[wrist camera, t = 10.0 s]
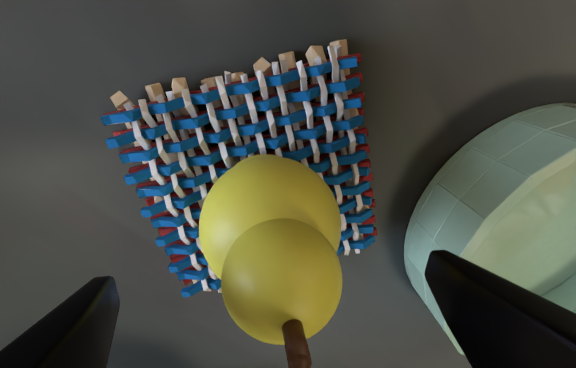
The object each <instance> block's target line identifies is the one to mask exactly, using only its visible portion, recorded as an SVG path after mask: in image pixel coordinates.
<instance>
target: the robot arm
mask: <svg viewBox="0 0 576 368" xmlns="http://www.w3.org/2000/svg"><path fill="white" fill-rule="evenodd" d="M425 279H426V281H427V283H428V286H429V288H430V290H431V292H432V294H433V296H434V298H435V300H436V302H437V305H438V307H439V309H440V311H441V313H442V315H443V317H444V319H445V321H446V323H447V325H448V327H449V329H450V331H451V332H452V334H453V336H454V338H455V339H456V341H457V343H458V344H459V346H460V348H461V349H462V351H463V353H464V354H465V356H466V358H467V359H468V361H469V363H470V364H471V366H472V368H576V313H574V312H572V311H570V310H568V309H566V308H564V307H562V306H560V305H558V304H556V303H554V302H552V301H550V300H547V299H545V298H543V297H541V296H539V295H537V294H535V293H533V292H531V291H529V290H527V289H525V288H523V287H521V286H519V285H517V284H515V283H513V282H511V281H509V280H507V279H504V278H502V277H500V276H498V275H496V274H494V273H492V272H490V271H488V270H486V269H484V268H482V267H480V266H478V265H476V264H474V263H472V262H470V261H468V260H466V259H464V258H462V257H459V256H457V255H455V254H453V253H451V252H449V251H447V250H433V251H431V253H430V254H429V258H428V261H427V265H426V268H425ZM119 306H120V300H119V296H118V292H117V288H116V284H115V281H114V278H113V277H111V276H103V277H95V278H93V279H92V280H91V281H89V282H88V283H87V284H85V285H84V286H83V287H82V288H80V289H79V290H78V291H76V292H75V293H74V294H73V295H71V296H70V297H69V298H68V299H66V300H65V301H64V302H62V303H61V304H60V305H59V306H57V307H56V308H55V309H53V310H52V311H51V312H50V313H48V314H47V315H46V316H45V317H43V318H42V319H41V320H39V321H38V322H37V323H36V324H34V325H33V326H32V327H30V328H29V329H28V330H27V331H25V332H24V333H23V334H22V335H20V336H19V337H18V338H16V339H15V340H14V341H13V342H11V343H10V344H9V345H7V346H6V347H5V348H4V349H2V350H1V351H0V368H106V364H107V360H108V356H109V352H110V347H111V343H112V339H113V334H114V330H115V325H116V321H117V316H118V312H119Z"/></svg>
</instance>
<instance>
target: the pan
mask: <svg viewBox="0 0 576 368" xmlns="http://www.w3.org/2000/svg"><path fill="white" fill-rule="evenodd" d="M433 250H447V251H449V252H451V253H453V254H455V255H457V256H459V257H462V258H464V259H466V260H468V261H470V262H472V263H474V264H476V265H478V266H480V267H482V268H484V269H486V270H488V271H490V272H492V273H494V274H496V275H498V276H500V277H502V278H504V279H507V280H509V281H511V282H513V283H515V284H517V285H519V286H521V287H523V288H525V289H527V290H529V291H531V292H533V293H535V294H537V295H539V296H541V297H543V298H545V299H547V300H550V301H552V302H554V303H556V304H558V305H560V306H562V307H564V308H566V309H568V310H570V311H572V312H574V313H576V103H569V102H568V103H555V104H548V105H543V106H539V107H534V108H531V109H528V110H525V111H522V112H519V113H517V114H514V115H512V116H510V117H508V118H506V119H504V120H502V121H499V122H498V123H496V124H494V125H493V126H491V127H489V128H488V129H486V130H484V131H483V132H481V133H480V134H478V135H477V136H476V137H474V138H473V139H472V140H470V141H469V142H468V143H466V144H465V145H464V146H463V147H462V148H461V149H460V150H458V151H457V152H456V153H455V154H454V155H453V156H452V157H451V158H450V159H449V160H448V161H447V162H446V163H445V164H444V165H443V167H442V168H441V169H440V170H439V171H438V172H437V173H436V175H435V176H434V177H433V179H432V180H431V181H430V183H429V184H428V186H427V187H426V188H425V190H424V192H423V194H422V195H421V197H420V199H419V200H418V202H417V204H416V206H415V209H414V211H413V213H412V215H411V218H410V221H409V224H408V228H407V231H406V236H405V242H404V262H405V268H406V272H407V275H408V278H409V281H410V282H411V284H412V286H413V287H414V289H415V290H416V292H417V293H418V295H419V296H420V298H421V299H422V301H423V302H424V304H425V305H426V307H427V308H428V309H429V311H430V312H431V314H432V315H433V316H434V318H435V319H436V321H437V322H438V324H439V325H440V326H441V328H442V329H443V331H444V332H445V333H446V335H447V336H448V338H449V339H450V341H451V342H452V343H453V345H454V346H455V348H456V349H457V350H458V352H459V353H461V354H463V355H465V354H464V353H463V351H462V349H461V348H460V346H459V344H458V343H457V341H456V339H455V338H454V336H453V334H452V332H451V331H450V329H449V327H448V325H447V323H446V321H445V319H444V317H443V315H442V313H441V311H440V309H439V307H438V305H437V302H436V300H435V298H434V296H433V294H432V292H431V290H430V288H429V286H428V283H427V281H426V279H425V268H426V265H427V261H428V258H429V254H430V253H431V251H433Z"/></svg>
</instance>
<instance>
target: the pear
mask: <svg viewBox="0 0 576 368" xmlns="http://www.w3.org/2000/svg"><path fill="white" fill-rule="evenodd" d="M199 238H200V243H201V248H202V251H203V254H204V257H205V259H206V261H207V263H208V264H209V266H210V268H211V269H212V271H213V272H214V273H215V274H216V276H217V277H218V278H219V279H220V280H221V290H222V295H223V299H224V303H225V305H226V308H227V310H228V312H229V314H230V316H231V317H232V319H233V320H234V321H235V323H236V324H237V325H238V326H239V327H240V328H241V329H242V330H243V331H245V332H246V333H247V334H248V335H250V336H252V337H254V338H255V339H258V340H260V341H262V342H266V343H270V344H277V345H285V349H286V355H287V361H288V366H289V368H311V364H312V362H311V357H310V353H309V349H308V345H307V341H306V339H308V338H310V337H311V336H313V335H314V334H316V333H317V332H318V331H320V330H321V329H322V328H323V327H324V326H325V325H326V324H327V323H328V321H329V320H330V319H331V317H332V316H333V314H334V312H335V311H336V308H337V306H338V303H339V301H340V296H341V292H342V270H341V265H340V262H339V259H338V256H337V251H338V248H339V244H340V239H341V216H340V211H339V207H338V204H337V202H336V199H335V197H334V195H333V193H332V191H331V189H330V188H329V186H328V185H327V184H326V183H325V181H324V180H323V179H322V178H321V177H320V176H319V175H318V174H317V173H316V172H314V171H313V170H312V169H310V168H309V167H307V166H306V165H304V164H302V163H300V162H297V161H295V160H292V159H288V158H283V157H280V156H276V155H270V154H261V155H255V156H251V157H248V158H246V159H244V160H242V161H240V162H239V163H237V164H236V165H235V166H234V167H232V168H231V169H229V170H228V171H227V172H225V173H224V174H223V175H222V176H221V177H220V178H219V179H218V180H217V181H216V182H215V183H214V185H213V186H212V188H211V189H210V191H209V192H208V194H207V196H206V198H205V200H204V203H203V206H202V210H201V213H200V219H199Z"/></svg>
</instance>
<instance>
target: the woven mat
mask: <svg viewBox="0 0 576 368" xmlns="http://www.w3.org/2000/svg"><path fill="white" fill-rule="evenodd" d="M327 48H328V52H329V57H330V59H326V57H325V54H324V51H323V47H322V46H310V47H309V49H308V51H307V52H306V57H307V60H308V62H307V63H305V64H303V63H302V60H301V61H299V62H297V63H296V61H295V55H294V51H291V52H286V53H282V54H279V55H278V56H279V61H280V65H281V71H280V70H279V65H278V62H272V69H273V73H271V64H270V63H269V62H268V61H266V60H265V59H264V58H263V57H261V58H260V59H259V60H258V61H257V62H256V63H255V64H254V65H253V67H254V71H255V75H256V77H252V78H248V77H247V73H246V74H244V72H237V73H233V74H231V73H230V72H227V71H224V72H225V84H224V82H223V78H222V76H216V77H210V78H205V79H203V80H201V84H202V86H200V88H201V89H200V90H195V91H189V89H188V86H187V82H186V79H185V77H183V78H173V80H172V85H171V86H172V91H173V92H172V91H169V92H166V95H167V98H166V97H165V95H164V92H163V89H162V87H161V84H160V83H155V84H151V85H147V86H145V88H146V91H147V93H148V96H149V99H150V101H151V102H149V103H146V99H140V100H138V102H139V105H137V106H135V105H134V104H133V103H132V102H131V101H130V100H129V99H128V98H127V97H126V96H125V95H124V94H123V93H122V92H121V91H118V92H117V93H115V94H114V95H113V96H112V97H110V98H111V100H112V102H113V103H114V105H115V107H116V108H117V109H118V110H117V111H113V112H109V113H105V114H103V115H102V116H100V118H101V120H102V122H103V124H104V126H105V125H112V124H120V123H125V124H126V126H127V129H126V130H120V131H115V132H113V134H114V137H110V138H108V139H106V140H105V141H106V143H107V145H108V147H109V149H111V148H115V147H119V146H122V145H126V144H129V143H132V142H134V144H135V146H136V147H133V148H129V149H124V150H123V151H122V152H121V154H119V157H120V159H121V161H122V163H123V164H124V163H127V162H141V161H142V162H143V164H142V165H139V166H135V167H132V168H130V169H129V173H130V174H127V175H125V176H124V177H123V178H124V180H125V181H126V183H127V185H130V184H134V183H138V182H141V181H143V180H146V179H149V178H150V179H151V181H150V182H146V183H142V184H138V186H137V189H136V192H137V194H138V196H139V198H141V197H145V196H150V197H148V198H146V199H145V201H146V203H147V205H148V206H149V207H143V208H142V209H141V210H140V212H141V214H142V216H143V217H149V216H152V217H151V223H152V225H153V227H154V228H157V227H161V228H159V229H158V231H159V233H160V235H161V236H160V237H157V239H156V240H155V242H156V244H157V246H158V247H160V246H165V247H164V249H165V252H166V254H167V256H169V255H171V257H170V259H171V261H172V263H170V265H169V266H168V268H169V270H170V272H171V273H173V272H177V276H178V278H179V280H180V281H181V280H183V282H184V283H185V285H186V284H188V283H189V282H191V281H193V283H194V284H193V285H191V286H190V287H186V288H183V289H182V290H181V294H182V296H183V297H188V296H192V295H194V294H196V293H197V292H199V291H201V290H204V291H212V290H211V289H210V288H212V289H216V290H218V292H219V293H220V292H222V290H221V280H220V279H219V278H218V277H217V276H216V274H215V273H214V272H213V271H212V269H211V268H210V266H209V264H208V263H207V261H206V259H205V257H204V254H201V253H203V251H202V248H201V243H200V238H199V219H200V213H201V210H202V206H203V203H204V200H205V198H206V196H207V194H208V192H209V191H210V189H211V188H212V186H213V185H214V183H215V182H216V181H217V180H218V179H219V178H220V177H221V176H222V175H223V174H224V173H225V172H227V171H228V170H229V169H231V168H232V167H234V166H235V165H236V164H237V163H239V162H240V161H242V160H244V159H246V158H248V157H251V156H255V155H261V154H270V155H276V156H280V157H283V158H288V159H292V160H295V161H297V162H300V163H302V164H304V165H306V166H307V167H309V168H310V169H312V170H313V171H314V172H316V173H317V174H318V175H319V176H320V177H321V178H322V179H323V180H324V181H325V183H326V184H327V185H328V186H329V188H330V189H331V191H332V193H333V195H334V197H335V199H336V202H337V204H338V207H339V211H340V216H341V239H340V244H339V248H338V251H337V256H338V255H339V254H340V253H341V252H342V251H344V250H345V253H344V255H349V252H350V249H355V252H356V254H357V253H360V249H365V248H367V247H368V246H369V245H371V244H372V243H373V242H375V237H374V236H375V235H377V229H376V228H375V227H373V224H371V223H374V222H376V220H375V216H374V215H373V214H372V209H369V207H374V208H375V199H372V197H373V190H372V189H371V188H370V185H369V181H371V180H373V177H372V173H369V168H371V164H370V160H369V159H365V158H366V157H367V153H369V152H370V150H369V145H368V144H367V143H365V142H366V136H368V129H367V128H365V127H364V128H360V129H358V126H359V125H361V124H363V123H364V121H363V116H364V108H357V107H361V102H363V101H365V95H364V93H363V92H358V93H353V94H352V89H353V88H356V87H358V86H360V82H362V81H363V79H362V73H359V72H357V73H354V74H350V68H351V67H357V66H358V64H357V63H358V62H362V60H361V53H356V54H351V55H348V48H347V39H344V40H337V41H334V42H331V43H330V46H328V47H327ZM296 65H297V67H296ZM331 71H332V79H331V80H327V81H326V76H327V73H329V72H331ZM307 77H310V85H307ZM299 79H300V84H301V87H300V84H299ZM274 86H276V89H277V92H278V93H275V88H274ZM257 90H259V92H260V96H256V97H252V93H253V92H255V91H257ZM330 93H333V94H334V98H333V99H329V100H328V98H327V94H330ZM227 96H229V97H230V99H231V102H230V103H229V100H228V97H227ZM312 99H313V102H314V103H310V100H312ZM195 104H206V107H207V110H205V111H201V112H199V111H198V108H197V106H196V105H195ZM278 106H281V111H279V107H278ZM287 106H288V107H287ZM171 111H172V112H173V114H174V115H175V117H176V118H173V115H172V113H171ZM256 111H264V113H265V115H264V116H260V117H258V116H257V113H256ZM335 112H337V114H336V115H334V116H333V117H330V114H333V113H335ZM153 114H155V115H156V118H157V120H158V122H155V121H154V119H153V118H152V116H151V115H153ZM313 117H316V122H313ZM234 118H237V120H238V123H235V119H234ZM143 119H144V120H145V121H146V122H147V125H145V123H144V121H143ZM210 122H211V124H212V126H213V128H214V129H210V130H205V128H204V125H206V124H208V123H210ZM283 125H284V126H285V130H283ZM291 125H293V128H291ZM187 129H188V131H189V134H188V133H187ZM267 129H268V130H269V133H268V134H264V135H262V132H263V131H265V130H267ZM178 130H179V131H180V134H179V131H178ZM333 131H338V134H336V135H333ZM180 135H181V136H180ZM161 136H164V139H165V140H163V141H162V139H161ZM240 136H243V140H241V139H240ZM318 137H319V139H316V138H318ZM151 139H155V140H156V142H154V143H153V142H152V140H151ZM294 140H296V145H295V141H294ZM210 143H218V145H219V146H215V147H211V146H210ZM287 143H289V146H288V147H287ZM358 143H361V145H358ZM364 143H365V144H364ZM193 148H195V150H194V149H193ZM266 148H271V149H273V150H272V151H268V152H266ZM166 153H167V154H166ZM320 153H322V154H321V155H320ZM313 154H314V156H312V155H313ZM158 156H160V157H161V159H159V157H158ZM221 159H223V160H221ZM363 159H365V160H363ZM219 160H221V161H219ZM218 161H219V162H218ZM216 162H217V163H216ZM192 166H193V168H194V170H193V168H192ZM200 166H201V167H202V168H201V167H200ZM342 171H343V172H342ZM176 173H177V175H176ZM170 175H171V176H170ZM167 176H169V177H167ZM205 183H207V184H205ZM181 188H184V189H181ZM354 209H355V210H354ZM163 211H164V212H163ZM160 212H161V213H160ZM207 277H212V278H213V279H211V278H207Z"/></svg>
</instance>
